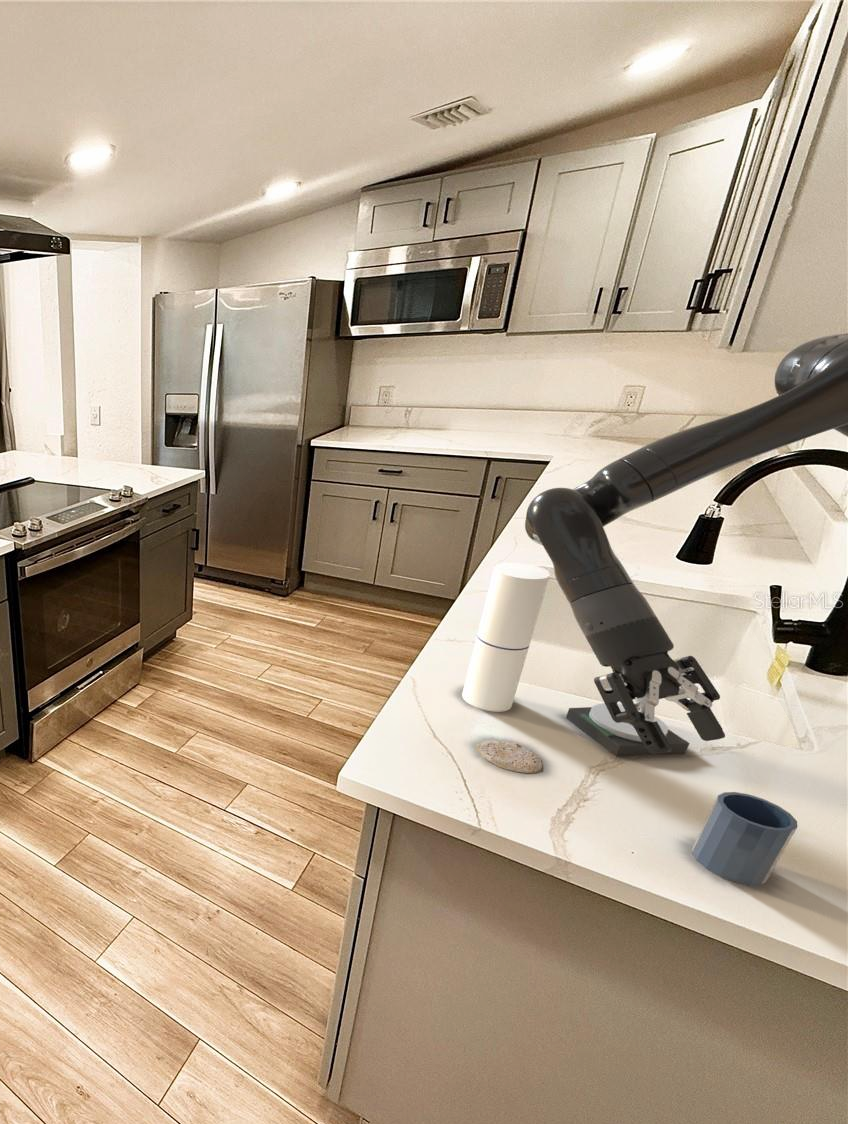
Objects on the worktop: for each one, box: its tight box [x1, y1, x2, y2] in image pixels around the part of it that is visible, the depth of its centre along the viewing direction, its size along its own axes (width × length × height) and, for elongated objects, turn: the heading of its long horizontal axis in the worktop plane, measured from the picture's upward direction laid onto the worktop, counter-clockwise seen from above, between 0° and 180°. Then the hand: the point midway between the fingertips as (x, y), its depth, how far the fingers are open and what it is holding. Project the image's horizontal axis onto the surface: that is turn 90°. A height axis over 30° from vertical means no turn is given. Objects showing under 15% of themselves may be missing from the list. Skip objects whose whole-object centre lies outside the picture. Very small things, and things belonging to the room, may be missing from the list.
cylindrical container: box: [461, 562, 551, 713], centre depth 102 cm, size 7×7×25 cm
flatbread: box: [476, 740, 543, 774], centre depth 93 cm, size 8×8×1 cm
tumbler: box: [691, 791, 798, 887], centre depth 72 cm, size 6×6×9 cm
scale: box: [565, 702, 690, 758], centre depth 96 cm, size 10×10×4 cm
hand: (688, 746), depth 76 cm, fingers open, 8 cm apart
